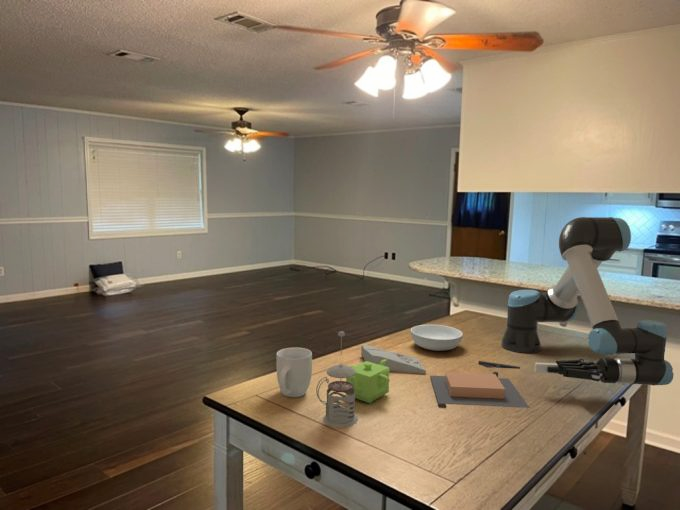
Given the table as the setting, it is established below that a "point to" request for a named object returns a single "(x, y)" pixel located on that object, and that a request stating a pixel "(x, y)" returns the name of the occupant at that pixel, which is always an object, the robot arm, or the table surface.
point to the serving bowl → (436, 337)
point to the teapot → (370, 381)
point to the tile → (474, 385)
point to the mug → (294, 371)
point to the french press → (335, 412)
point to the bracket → (489, 365)
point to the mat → (444, 398)
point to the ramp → (392, 360)
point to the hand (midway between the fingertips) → (535, 367)
